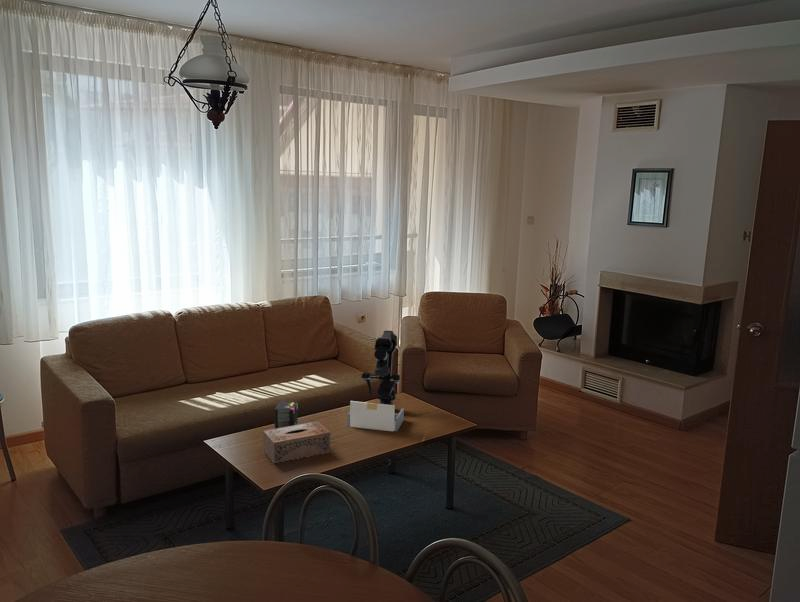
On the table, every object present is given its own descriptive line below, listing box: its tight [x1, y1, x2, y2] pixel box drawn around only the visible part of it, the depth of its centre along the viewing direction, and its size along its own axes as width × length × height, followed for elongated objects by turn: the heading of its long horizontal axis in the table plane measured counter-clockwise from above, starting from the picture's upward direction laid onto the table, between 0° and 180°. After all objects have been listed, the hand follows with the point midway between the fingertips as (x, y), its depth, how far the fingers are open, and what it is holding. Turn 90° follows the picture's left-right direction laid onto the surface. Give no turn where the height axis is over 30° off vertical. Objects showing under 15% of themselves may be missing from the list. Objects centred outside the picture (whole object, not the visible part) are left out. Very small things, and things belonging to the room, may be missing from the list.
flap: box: [349, 400, 396, 432], centre depth 305 cm, size 1×22×13 cm, turn 77°
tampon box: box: [273, 401, 299, 429], centre depth 298 cm, size 11×9×15 cm
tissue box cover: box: [262, 420, 331, 464], centre depth 279 cm, size 26×14×10 cm, turn 120°
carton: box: [347, 407, 405, 432], centre depth 313 cm, size 15×25×7 cm, turn 78°
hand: (380, 395), depth 306 cm, fingers open, 9 cm apart
